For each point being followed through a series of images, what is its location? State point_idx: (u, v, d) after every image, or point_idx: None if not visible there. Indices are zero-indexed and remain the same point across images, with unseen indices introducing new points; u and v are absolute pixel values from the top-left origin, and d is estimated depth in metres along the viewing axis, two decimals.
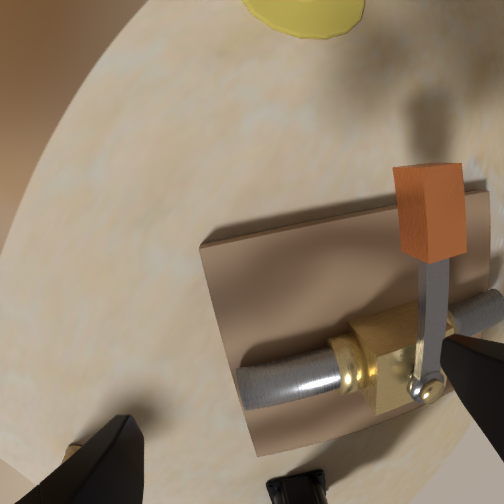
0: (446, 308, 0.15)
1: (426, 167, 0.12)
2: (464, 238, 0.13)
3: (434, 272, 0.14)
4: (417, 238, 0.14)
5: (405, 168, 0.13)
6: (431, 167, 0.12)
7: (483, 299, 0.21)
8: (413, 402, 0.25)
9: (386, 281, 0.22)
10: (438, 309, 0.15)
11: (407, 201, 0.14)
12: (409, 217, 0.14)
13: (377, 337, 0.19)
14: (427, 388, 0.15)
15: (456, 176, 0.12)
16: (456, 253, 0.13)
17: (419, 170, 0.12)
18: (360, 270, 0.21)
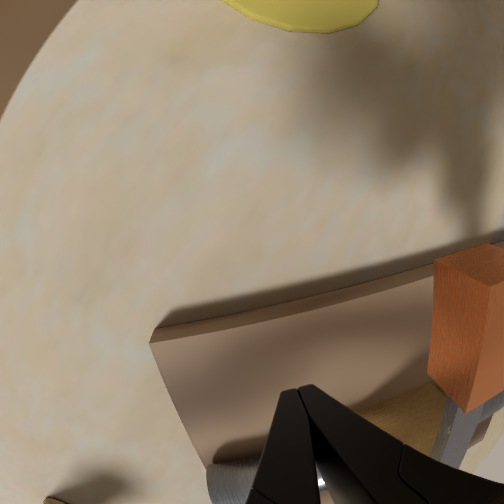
0: (472, 434, 0.09)
1: (496, 282, 0.06)
2: None
3: None
4: (456, 375, 0.08)
5: (458, 272, 0.07)
6: (503, 282, 0.06)
7: None
8: None
9: (398, 367, 0.16)
10: (462, 438, 0.09)
11: (451, 320, 0.08)
12: (449, 342, 0.08)
13: None
14: None
15: None
16: (503, 387, 0.07)
17: (484, 288, 0.06)
18: (365, 360, 0.15)
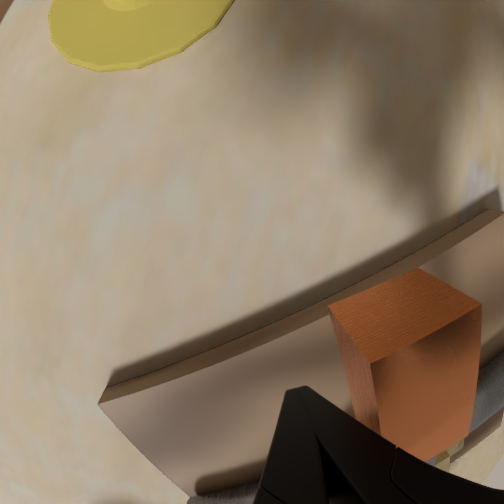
0: None
1: (386, 353, 0.05)
2: (466, 423, 0.06)
3: None
4: None
5: (344, 330, 0.06)
6: (399, 351, 0.05)
7: None
8: None
9: None
10: None
11: (354, 380, 0.07)
12: (359, 403, 0.07)
13: None
14: None
15: (465, 338, 0.05)
16: (446, 447, 0.06)
17: (365, 362, 0.05)
18: None
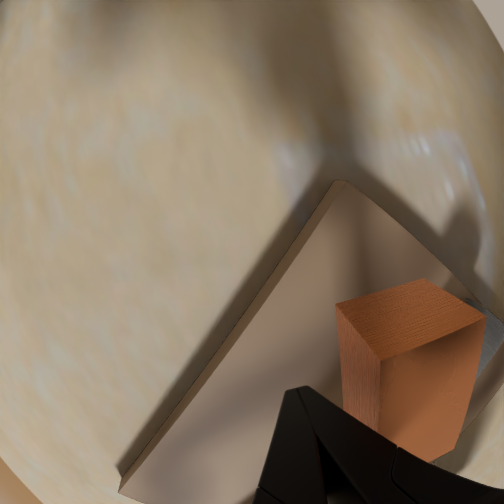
0: None
1: (396, 352, 0.05)
2: (454, 435, 0.06)
3: None
4: None
5: (353, 328, 0.06)
6: (409, 351, 0.05)
7: None
8: None
9: None
10: None
11: (353, 381, 0.07)
12: (354, 404, 0.07)
13: None
14: None
15: (468, 348, 0.05)
16: (433, 458, 0.06)
17: (375, 359, 0.05)
18: (240, 445, 0.15)
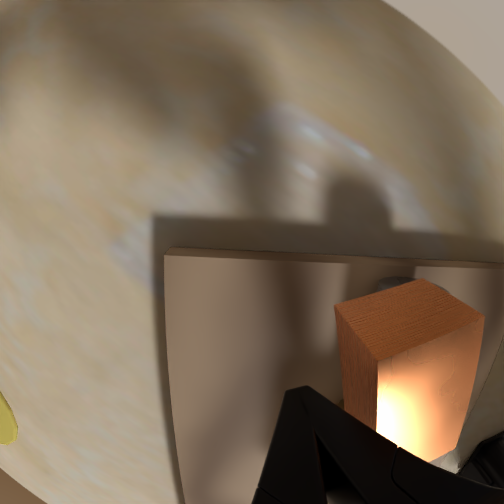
0: None
1: (393, 352, 0.05)
2: (455, 435, 0.06)
3: None
4: None
5: (351, 329, 0.06)
6: (406, 352, 0.05)
7: None
8: (474, 388, 0.16)
9: None
10: None
11: (352, 381, 0.07)
12: (354, 405, 0.07)
13: None
14: None
15: (466, 347, 0.05)
16: (434, 457, 0.06)
17: (372, 359, 0.05)
18: (242, 476, 0.16)
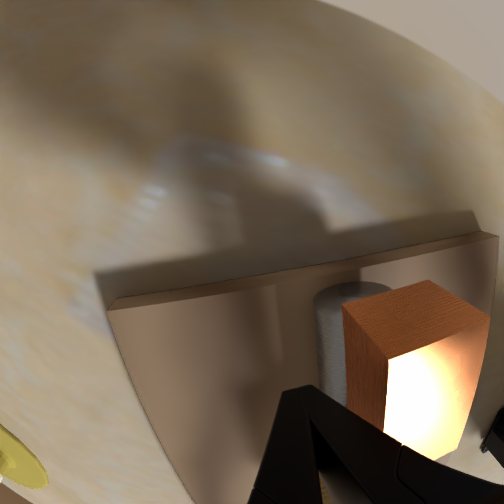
0: None
1: (404, 351, 0.05)
2: (457, 435, 0.06)
3: None
4: None
5: (360, 328, 0.06)
6: (416, 351, 0.05)
7: (323, 363, 0.11)
8: None
9: None
10: None
11: (359, 381, 0.07)
12: (359, 404, 0.07)
13: None
14: None
15: (472, 348, 0.05)
16: (436, 457, 0.06)
17: (383, 358, 0.05)
18: (245, 488, 0.16)
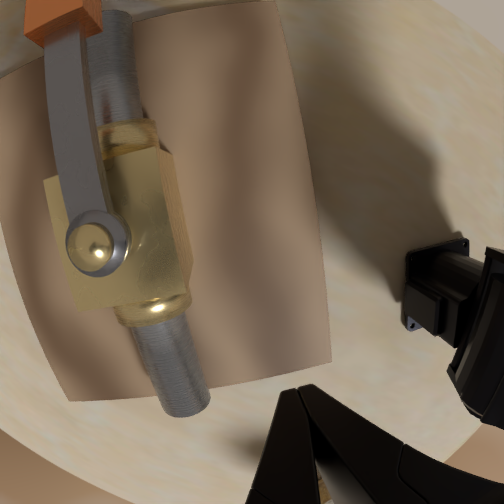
0: (81, 92, 0.09)
1: None
2: None
3: (55, 49, 0.08)
4: None
5: None
6: None
7: None
8: (283, 123, 0.17)
9: None
10: (68, 94, 0.09)
11: None
12: None
13: None
14: (72, 234, 0.10)
15: None
16: (64, 12, 0.07)
17: None
18: (56, 267, 0.17)
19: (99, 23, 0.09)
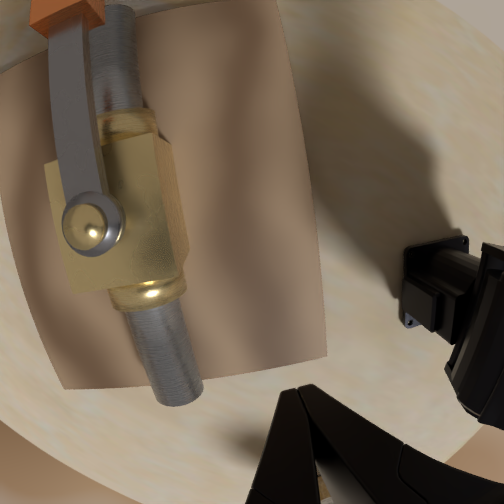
0: (82, 79, 0.09)
1: None
2: None
3: (59, 39, 0.08)
4: None
5: None
6: None
7: None
8: (281, 115, 0.17)
9: None
10: (69, 81, 0.09)
11: None
12: None
13: None
14: (67, 213, 0.10)
15: None
16: (68, 4, 0.07)
17: None
18: (55, 253, 0.17)
19: (101, 16, 0.09)
